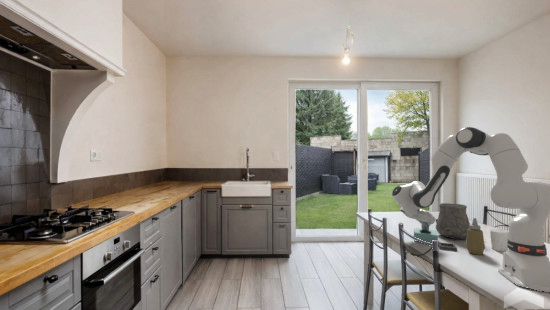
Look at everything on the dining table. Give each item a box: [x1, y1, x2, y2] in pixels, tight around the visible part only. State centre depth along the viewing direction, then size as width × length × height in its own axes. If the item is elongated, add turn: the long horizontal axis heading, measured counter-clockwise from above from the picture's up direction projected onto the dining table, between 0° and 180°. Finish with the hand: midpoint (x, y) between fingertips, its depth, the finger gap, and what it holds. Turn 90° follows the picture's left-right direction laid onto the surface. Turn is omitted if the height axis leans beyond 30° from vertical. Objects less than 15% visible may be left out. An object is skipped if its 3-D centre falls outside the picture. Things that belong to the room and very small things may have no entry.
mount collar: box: [437, 241, 458, 252], centre depth 153 cm, size 8×8×2 cm
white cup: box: [489, 228, 509, 253], centre depth 150 cm, size 8×8×10 cm
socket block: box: [413, 228, 439, 244], centre depth 167 cm, size 12×12×5 cm
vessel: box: [435, 202, 471, 240], centre depth 174 cm, size 22×22×20 cm
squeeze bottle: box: [465, 217, 486, 256], centre depth 145 cm, size 8×8×18 cm
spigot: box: [420, 221, 430, 233], centre depth 167 cm, size 4×4×14 cm
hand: (426, 223), depth 168 cm, fingers closed on spigot, 4 cm apart
